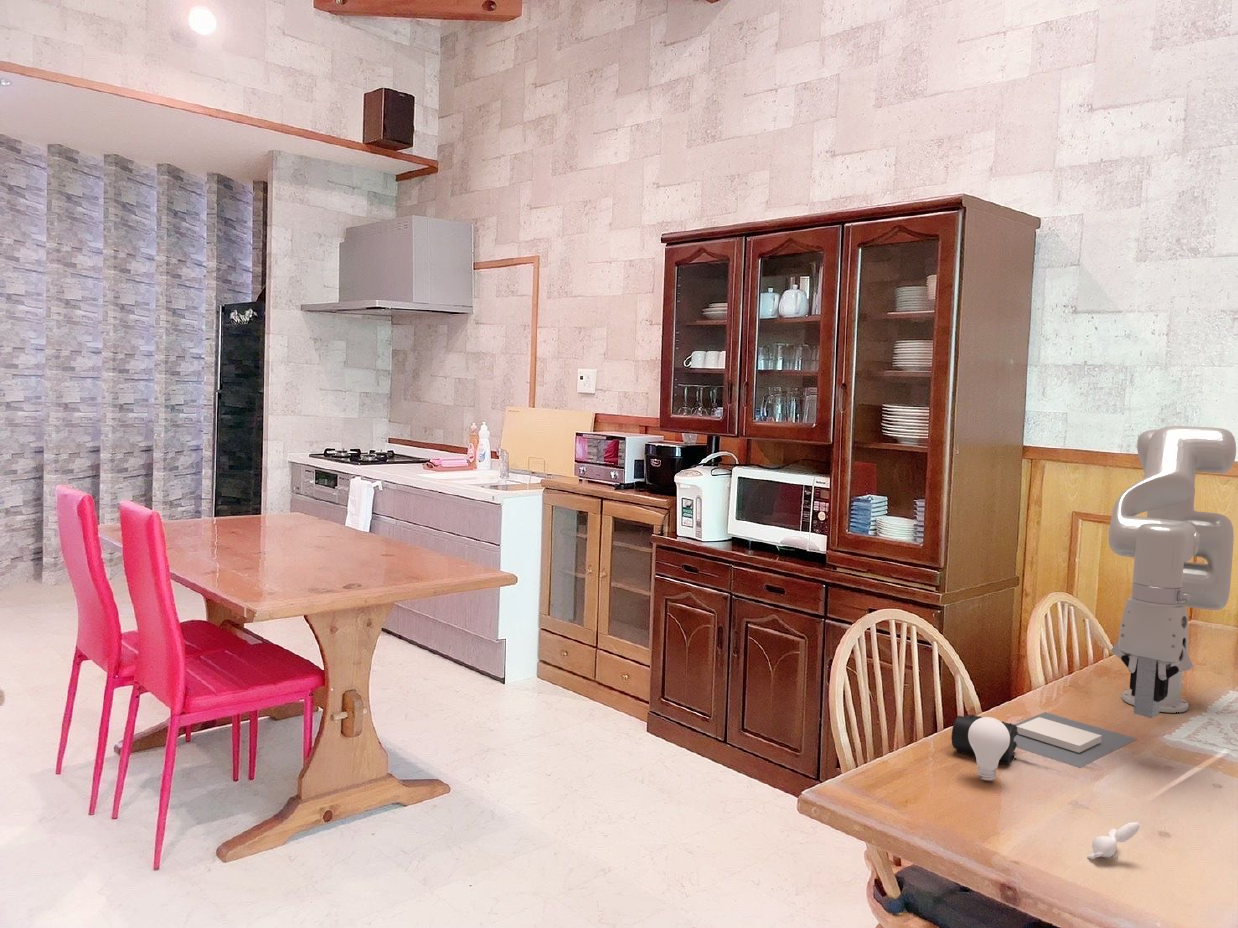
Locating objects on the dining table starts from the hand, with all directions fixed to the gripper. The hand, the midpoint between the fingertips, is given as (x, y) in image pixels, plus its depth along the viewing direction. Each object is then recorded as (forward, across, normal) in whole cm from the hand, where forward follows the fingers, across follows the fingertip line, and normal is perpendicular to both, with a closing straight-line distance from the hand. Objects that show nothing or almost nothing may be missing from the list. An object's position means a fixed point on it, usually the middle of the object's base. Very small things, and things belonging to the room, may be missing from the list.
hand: (1147, 696), depth 167 cm
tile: (+12, +15, -4) cm, 20 cm away
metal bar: (+3, 0, 0) cm, 3 cm away
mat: (+13, +15, -1) cm, 20 cm away
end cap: (+14, +20, +18) cm, 30 cm away
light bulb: (+14, +14, +28) cm, 34 cm away
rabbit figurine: (+14, -11, +38) cm, 42 cm away
